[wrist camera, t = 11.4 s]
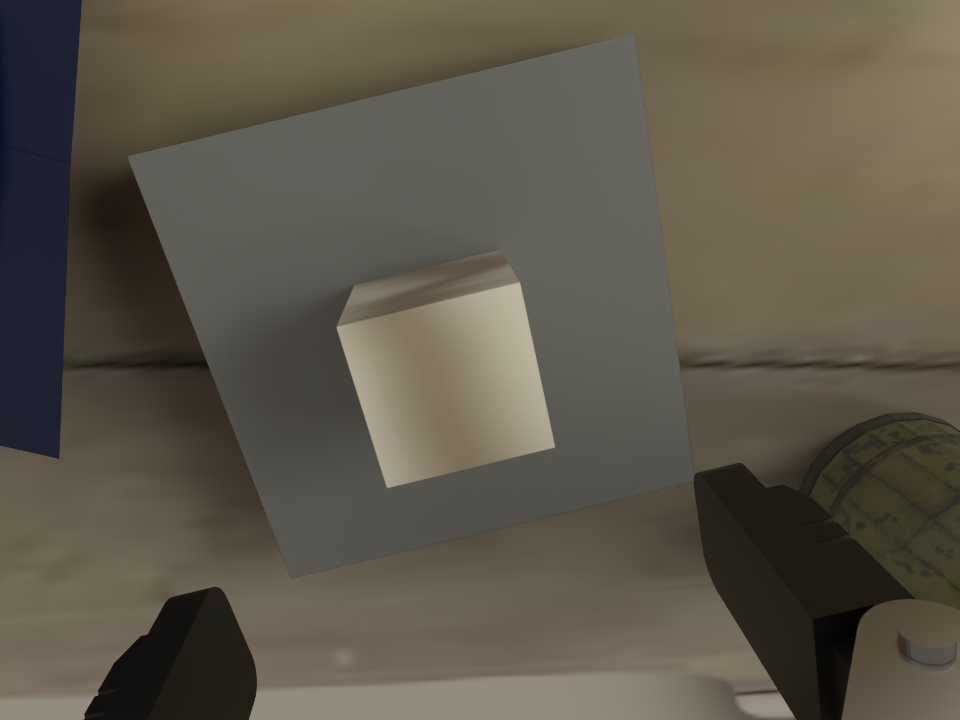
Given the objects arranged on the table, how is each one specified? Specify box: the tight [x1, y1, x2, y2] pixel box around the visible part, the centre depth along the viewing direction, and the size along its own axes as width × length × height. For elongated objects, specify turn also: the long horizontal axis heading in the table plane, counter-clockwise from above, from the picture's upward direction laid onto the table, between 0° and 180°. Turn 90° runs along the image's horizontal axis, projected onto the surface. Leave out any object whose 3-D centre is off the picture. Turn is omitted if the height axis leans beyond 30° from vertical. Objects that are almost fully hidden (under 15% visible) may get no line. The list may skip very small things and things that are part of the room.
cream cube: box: [336, 250, 555, 488], centre depth 21 cm, size 5×5×5 cm
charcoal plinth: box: [127, 34, 694, 578], centre depth 26 cm, size 16×16×4 cm
